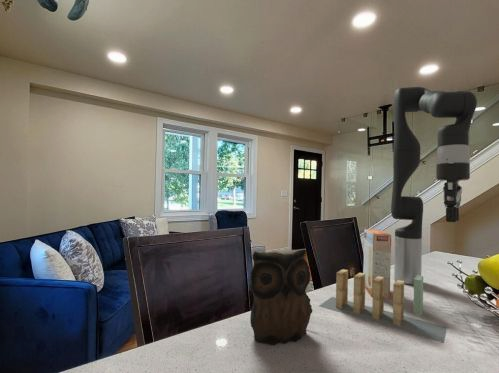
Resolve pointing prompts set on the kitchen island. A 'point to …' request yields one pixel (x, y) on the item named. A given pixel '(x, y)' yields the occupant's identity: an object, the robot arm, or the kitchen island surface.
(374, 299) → the domino
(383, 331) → the kitchen island surface
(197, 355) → the kitchen island surface
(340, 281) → the domino
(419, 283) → the domino
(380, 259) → the cracker box
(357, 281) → the domino
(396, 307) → the domino
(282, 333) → the owl
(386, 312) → the mat
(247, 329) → the kitchen island surface
